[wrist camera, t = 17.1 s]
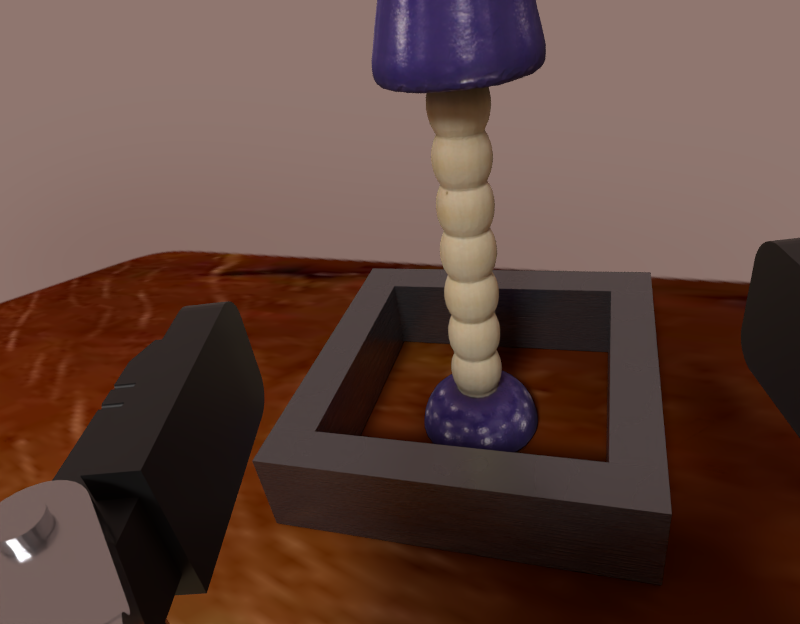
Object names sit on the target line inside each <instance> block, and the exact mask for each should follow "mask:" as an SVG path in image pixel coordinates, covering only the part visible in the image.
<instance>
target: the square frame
mask: <svg viewBox="0 0 800 624" xmlns="http://www.w3.org/2000/svg"><path fill="white" fill-rule="evenodd" d="M492 272H493V274H494V275H495V277H496V280H497V283H498V288H499V300H498V305H497V308H496V310H495V312H494V313H495V314H496V316H497V319H498V321H499V325H500V340H499V344H498V346H505V347H524V348H543V349H562V350H581V351H600V352H608V392H607V452H606V462H598V461H589V460H579V459H570V458H560V457H551V456H542V455H532V454H523V453H513V452H504V451H495V450H485V449H476V448H466V447H457V446H447V445H438V444H429V443H419V442H410V441H400V440H391V439H382V438H372V437H363V436H361V433H362V431H363V429H364V427H365V425H366V423H367V420H368V418H369V416H370V414H371V412H372V410H373V407H374V405H375V403H376V401H377V399H378V396H379V394H380V392H381V390H382V388H383V386H384V383H385V381H386V379H387V377H388V375H389V373H390V370H391V368H392V366H393V364H394V362H395V360H396V357H397V355H398V353H399V351H400V349H401V347H402V344H403V342H404V341H410V342H429V343H448V344H450V341H449V334H448V326H449V321H450V317H451V314H450V312H449V310H448V308H447V306H446V302H445V297H444V287H445V282H446V279H447V276H448V274H447V273H446V271H445V270H434V269H372V271H371V273H370V274H369V276H368V277H367V279H366V281H365V282H364V284H363V285H362V287H361V289H360V290H359V292H358V293H357V295H356V297H355V298H354V300H353V301H352V303H351V305H350V306H349V308H348V309H347V311H346V313H345V314H344V316H343V317H342V319H341V320H340V322H339V324H338V325H337V327H336V328H335V330H334V332H333V333H332V335H331V336H330V338H329V340H328V341H327V343H326V344H325V346H324V348H323V349H322V351H321V352H320V354H319V356H318V357H317V359H316V360H315V362H314V364H313V365H312V367H311V368H310V370H309V372H308V373H307V375H306V376H305V378H304V380H303V381H302V383H301V384H300V386H299V388H298V389H297V391H296V392H295V394H294V395H293V397H292V399H291V400H290V402H289V403H288V405H287V407H286V408H285V410H284V411H283V413H282V415H281V416H280V418H279V419H278V421H277V423H276V424H275V426H274V427H273V429H272V431H271V432H270V434H269V435H268V437H267V439H266V440H265V442H264V443H263V445H262V447H261V448H260V450H259V451H258V453H257V455H256V456H255V458H254V459H253V463H254V466H255V468H256V471H257V474H258V476H259V479H260V481H261V484H262V486H263V489H264V491H265V494H266V496H267V499H268V502H269V504H270V507H271V509H272V512H273V514H274V517H275V519H276V522H277V523H280V524H286V525H292V526H298V527H305V528H311V529H317V530H323V531H329V532H336V533H342V534H348V535H354V536H360V537H367V538H373V539H379V540H385V541H391V542H398V543H404V544H410V545H416V546H422V547H429V548H435V549H441V550H447V551H453V552H460V553H466V554H472V555H478V556H484V557H491V558H497V559H503V560H509V561H515V562H522V563H528V564H534V565H540V566H546V567H552V568H559V569H565V570H571V571H577V572H583V573H590V574H596V575H602V576H608V577H614V578H621V579H627V580H633V581H639V582H645V583H652V584H658V585H662V579H663V572H664V565H665V558H666V551H667V544H668V537H669V530H670V523H671V516H672V511H671V500H670V488H669V477H668V466H667V454H666V443H665V431H664V420H663V409H662V397H661V386H660V375H659V363H658V352H657V341H656V329H655V318H654V307H653V295H652V284H651V273H650V272H648V273H646V272H579V271H506V270H492Z"/></svg>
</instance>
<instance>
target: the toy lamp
mask: <svg viewBox="0 0 800 624" xmlns="http://www.w3.org/2000/svg"><path fill="white" fill-rule="evenodd" d="M545 46H546V44H545V39H544V34H543V30H542V25H541V21H540V17H539V13H538V9H537V5H536V0H377V7H376V17H375V27H374V40H373V53H372V72H373V77H374V80H375V82H376V83H377V84H378V85H379V86H380V87H382V88H383V89H387V90H391V91H395V92H406V93H427V94H426V111H427V115H428V119H429V122H430V125H431V127H432V128H433V130H434V132H435V134H436V136H435V138H434V141H433V145H432V150H431V161H432V166H433V171H434V173H435V176H436V178H437V180H438V182H439V183H440V187H439V189H438V192H437V198H436V210H437V216H438V220H439V222H440V225H441V227H442V228H443V230H444V232H443V235H442V238H441V243H440V257H441V261H442V265H443V267H444V269H445V271H446V273H447V274H448V276H447V279H446V282H445V287H444V297H445V302H446V306H447V308H448V310H449V312H450V314H451V317H450V321H449V326H448V334H449V341H450V344H451V347H452V349H453V350H454V352H455V353H454V355H453V359H452V374H451V375H449V376H448V377H447V378H445V379H444V380H442V381H441V382H440V383H439V384H438V385H437V386H436V388H435V389H434V391H433V392H432V394H431V396H430V398H429V400H428V403H427V407H426V412H425V429H426V431H427V434H428V437H429V438H430V439H431V441H432V442H433V443H434V444H438V445H447V446H457V447H466V448H476V449H485V450H495V451H504V452H513V453H515V452H516V451H518V450H519V449H521V448H522V447H523V446H525V445H526V444H527V442H528V441H529V440H530V439H531V438H532V436H533V435H534V433H535V431H536V428H537V422H538V419H537V412H536V408H535V405H534V402H533V400H532V397H531V395H530V394H529V392H528V391H527V389H526V388H525V387H524V385H523V384H522V383H521V382H520V381H519V380H517V379H516V378H514V377H513V376H512V375H511V374H508V373H506V372H505V371H502V364H501V359H500V356H499V354H498V352H497V350H496V349H497V347H498V344H499V340H500V325H499V321H498V319H497V316H496V314H495V313H494V312H495V310H496V308H497V305H498V300H499V288H498V283H497V280H496V277H495V275H494V274H493V272H492V270H493V268H494V266H495V262H496V257H497V248H496V247H497V246H496V241H495V237H494V234H493V232H492V231H491V229H490V225H491V223H492V220H493V217H494V206H495V203H494V196H493V192H492V189H491V187H490V185H489V183H488V182H487V179H488V177H489V175H490V172H491V168H492V162H493V153H492V146H491V142H490V140H489V137H488V135H487V133H486V132H485V127H486V125H487V122H488V120H489V116H490V109H491V97H490V91H489V87H490V86H496V85H501V84H504V83H507V82H510V81H513V80H516V79H519V78H522V77H524V76H528V75H530V74H533V73H534V72H535V71H536V70H538V69H539V68H540V67H541V66H542V65H543V63H544V61H545V54H546V49H545V48H546V47H545Z"/></svg>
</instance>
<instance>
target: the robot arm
mask: <svg viewBox="0 0 800 624" xmlns="http://www.w3.org/2000/svg"><path fill="white" fill-rule="evenodd" d="M741 344H742V350H743V354H744V358H745V361H746V363H747V365H748V367H749V369H750V371H751V372H752V373H753V375H754V376H755V378H756V379H757V380H758V382H759V383H760V384H761V386H762V387H763V388H764V390H765V391H766V393H767V394H768V395H769V397H770V398H771V399H772V401H773V402H774V403H775V405H776V406H777V408H778V409H779V410H780V412H781V413H782V414H783V416H784V417H785V418H786V420H787V421H788V423H789V424H790V425H791V427H792V428H793V429H794V431H795V432H796V434H797V435H798V436H799V438H800V238H794V239H786V240H776V241H768V242H765V243H763V244H762V245H761V246H760V247H759V249H758V251H757V254H756V257H755V261H754V267H753V271H752V277H751V282H750V287H749V292H748V298H747V303H746V308H745V313H744V319H743V324H742V330H741ZM114 386H115V389H114V390H111V391H110V392H109V394H108V395H107V397H106V399H105V400H104V402H103V403H102V409H101V410H98V411H97V412H96V414H95V416H94V417H93V419H92V420H91V422H90V423H89V425H88V426H87V428H86V429H85V431H84V432H83V434H82V436H81V437H80V439H79V440H78V442H77V443H76V445H75V446H74V448H73V449H72V451H71V452H70V454H69V456H68V457H67V459H66V460H65V462H64V463H63V465H62V466H61V468H60V469H59V471H58V473H57V474H56V476H55V477H54V479H53V480H52V481H48V482H44V483H40V484H36V485H34V486H31V487H28V488H26V489H24V490H21V491H19V492H17V493H15V494H13V495H12V496H10V497H8V498H6V499H5V500H3V501H2V502H0V624H170V623H169V622H168V620H167V619H166V618H167V615H168V612H169V610H170V607H171V604H172V601H173V598H174V596H175V595H186V594H201V593H207V590H208V587H209V584H210V581H211V578H212V574H213V571H214V568H215V565H216V562H217V558H218V555H219V552H220V549H221V546H222V542H223V539H224V536H225V533H226V530H227V526H228V523H229V520H230V517H231V514H232V510H233V507H234V504H235V501H236V498H237V494H238V491H239V488H240V485H241V482H242V478H243V475H244V472H245V469H246V466H247V462H248V459H249V456H250V453H251V450H252V446H253V443H254V440H255V437H256V434H257V430H258V427H259V424H260V421H261V418H262V414H263V409H264V388H263V382H262V377H261V374H260V371H259V368H258V365H257V362H256V360H255V357H254V354H253V351H252V348H251V345H250V342H249V339H248V336H247V333H246V330H245V327H244V325H243V322H242V319H241V316H240V313H239V311H238V309H237V307H236V306H235V305H234V304H233V303H232V302H229V301H228V302H219V303H211V304H202V305H193V306H185V307H183V308H182V309H181V310H180V311H179V313H178V314H177V316H176V318H175V319H174V321H173V323H172V324H171V326H170V328H169V329H168V331H167V333H166V334H165V336H164V338H163V339H162V340H155V341H153V342H152V343H151V344H150V345H149V346H147V347H146V348H145V349H144V350H143V351H142V352H140V353H139V354H138V355H137V356H136V357H134V358H133V359H132V360H131V361H130V362H129V363H128V365H127V366H126V368H125V369H124V371H123V372H122V374H121V375H120V377H119V379H118V380H117V382H116V383H115V385H114Z"/></svg>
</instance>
